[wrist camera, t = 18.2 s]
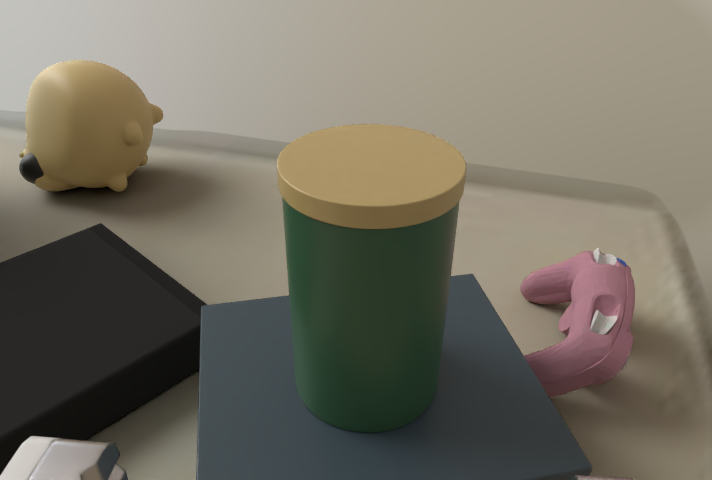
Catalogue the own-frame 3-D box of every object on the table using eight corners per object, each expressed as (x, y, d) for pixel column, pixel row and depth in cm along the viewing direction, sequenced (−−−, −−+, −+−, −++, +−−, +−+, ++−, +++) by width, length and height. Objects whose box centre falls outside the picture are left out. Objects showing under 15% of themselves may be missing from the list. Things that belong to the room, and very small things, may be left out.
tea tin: (415, 318, 28) (432, 118, 22) (461, 422, 23) (496, 195, 17) (285, 335, 27) (269, 130, 21) (302, 448, 22) (287, 215, 16)
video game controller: (563, 434, 31) (661, 365, 27) (492, 387, 31) (578, 311, 27) (572, 320, 39) (649, 252, 35) (515, 283, 39) (585, 210, 35)
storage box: (460, 356, 34) (472, 273, 31) (560, 557, 24) (593, 467, 21) (216, 391, 32) (201, 305, 29) (217, 630, 22) (194, 541, 19)
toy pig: (126, 191, 58) (29, 120, 55) (194, 106, 53) (91, 22, 50) (80, 243, 50) (-38, 162, 46) (155, 147, 45) (29, 49, 41)
